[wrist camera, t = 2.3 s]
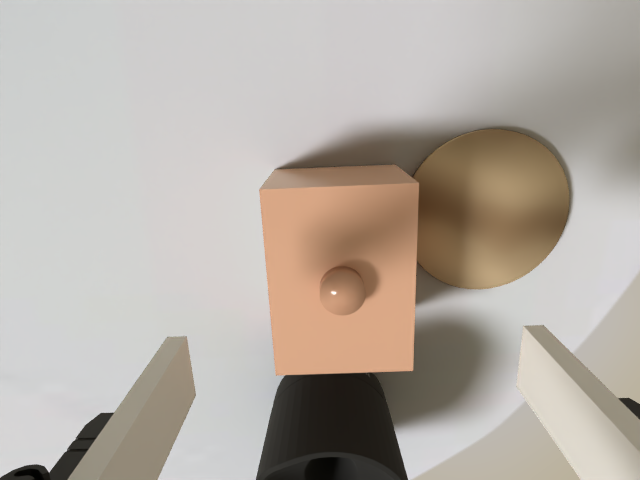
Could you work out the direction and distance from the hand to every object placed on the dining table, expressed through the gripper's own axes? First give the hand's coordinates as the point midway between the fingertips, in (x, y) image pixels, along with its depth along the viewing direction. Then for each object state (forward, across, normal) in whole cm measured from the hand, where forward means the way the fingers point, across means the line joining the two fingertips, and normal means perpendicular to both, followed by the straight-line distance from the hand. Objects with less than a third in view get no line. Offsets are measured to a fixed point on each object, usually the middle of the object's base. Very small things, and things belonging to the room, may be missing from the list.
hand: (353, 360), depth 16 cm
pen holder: (+14, -1, -13) cm, 19 cm away
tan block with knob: (+14, 0, 0) cm, 14 cm away
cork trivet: (+14, +10, +2) cm, 17 cm away
